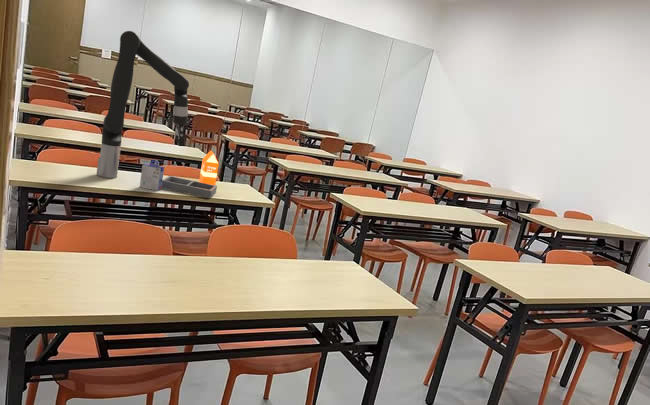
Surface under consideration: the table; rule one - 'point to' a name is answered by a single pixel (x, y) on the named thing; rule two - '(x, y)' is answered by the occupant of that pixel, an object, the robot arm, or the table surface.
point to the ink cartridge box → (152, 176)
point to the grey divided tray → (189, 186)
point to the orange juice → (209, 169)
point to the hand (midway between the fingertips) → (179, 144)
